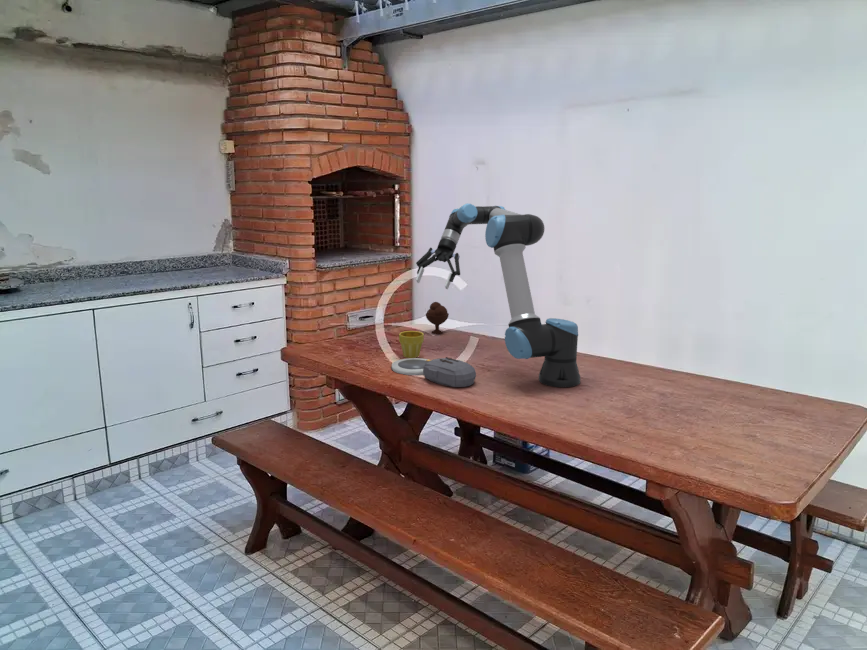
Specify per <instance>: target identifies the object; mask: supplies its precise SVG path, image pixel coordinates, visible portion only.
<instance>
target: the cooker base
mask: <svg viewBox="0 0 867 650" xmlns="http://www.w3.org/2000/svg"><path fill="white" fill-rule="evenodd" d="M431 360H432V359H428V358H423V357H421V358H419V357H417V358H402V359H398V360H394V361H393V362H392V363H391V370H392V371H393V372H394V373H397V374H400V375H406V376H421V375H423V376H424V374H423V368H424V365H425V363H427V362H428V361H431Z"/></svg>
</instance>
